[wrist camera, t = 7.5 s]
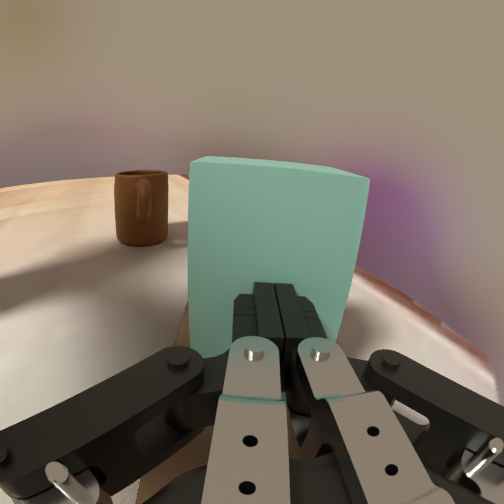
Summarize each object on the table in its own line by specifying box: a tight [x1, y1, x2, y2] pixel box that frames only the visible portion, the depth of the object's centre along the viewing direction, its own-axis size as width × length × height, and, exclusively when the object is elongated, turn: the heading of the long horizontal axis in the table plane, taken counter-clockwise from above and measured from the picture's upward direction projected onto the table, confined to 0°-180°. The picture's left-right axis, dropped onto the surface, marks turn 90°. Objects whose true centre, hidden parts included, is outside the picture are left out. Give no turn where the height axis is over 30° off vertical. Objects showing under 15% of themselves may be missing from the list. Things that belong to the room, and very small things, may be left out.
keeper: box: [188, 156, 370, 401], centre depth 14 cm, size 5×6×11 cm
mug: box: [114, 170, 168, 246], centre depth 36 cm, size 12×8×9 cm, turn 24°
